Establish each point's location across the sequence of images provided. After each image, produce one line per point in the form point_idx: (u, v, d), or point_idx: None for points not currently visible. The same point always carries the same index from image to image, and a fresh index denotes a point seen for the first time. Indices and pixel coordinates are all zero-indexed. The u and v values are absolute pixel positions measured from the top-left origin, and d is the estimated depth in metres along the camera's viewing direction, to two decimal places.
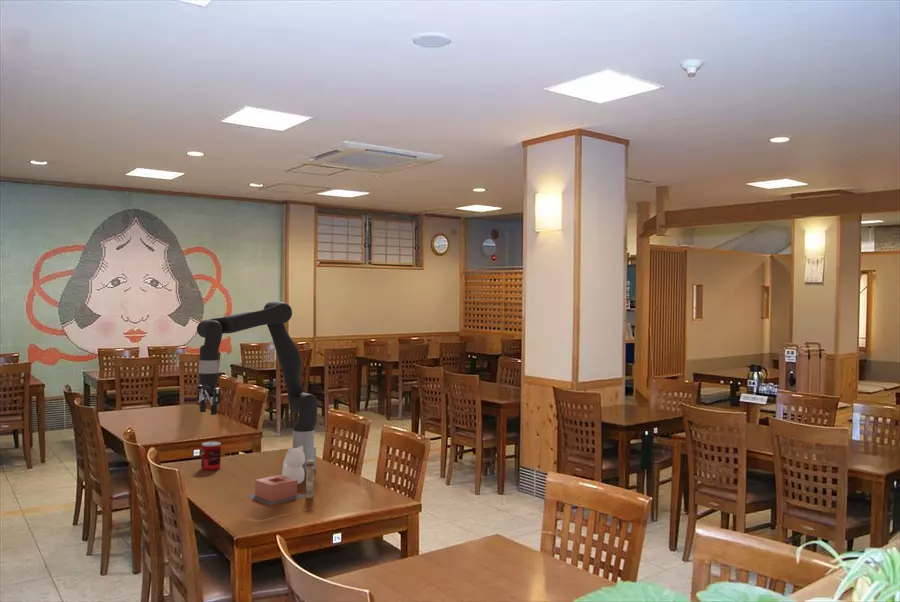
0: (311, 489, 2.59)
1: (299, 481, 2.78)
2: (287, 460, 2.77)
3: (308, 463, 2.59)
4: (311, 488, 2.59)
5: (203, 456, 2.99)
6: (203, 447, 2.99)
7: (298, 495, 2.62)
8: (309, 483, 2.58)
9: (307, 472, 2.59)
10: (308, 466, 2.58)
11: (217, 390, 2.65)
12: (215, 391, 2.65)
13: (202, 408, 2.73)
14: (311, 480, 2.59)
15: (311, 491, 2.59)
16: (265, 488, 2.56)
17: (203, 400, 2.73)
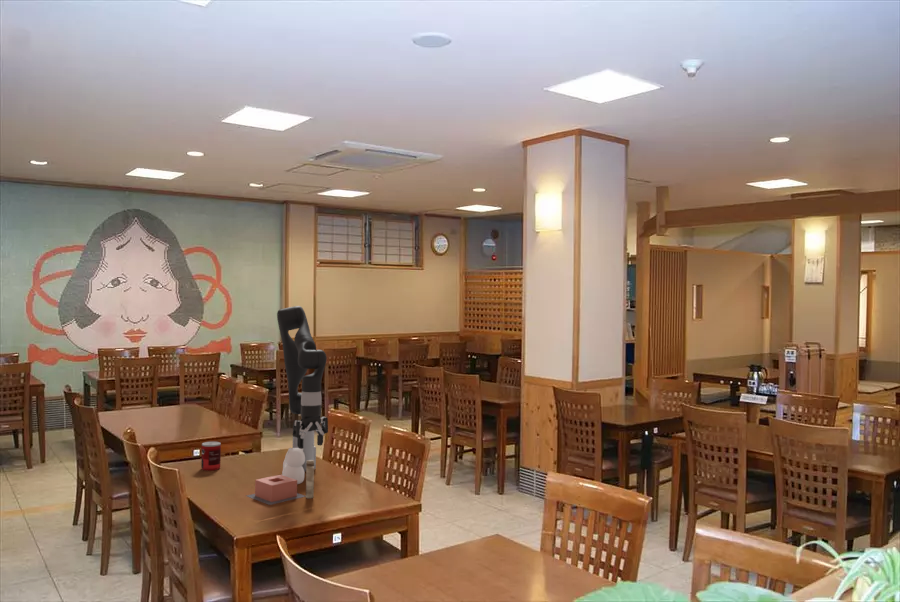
0: (311, 489, 2.59)
1: (299, 481, 2.78)
2: (287, 460, 2.77)
3: (308, 463, 2.59)
4: (311, 488, 2.59)
5: (203, 456, 2.99)
6: (203, 447, 2.99)
7: (298, 495, 2.62)
8: (309, 483, 2.58)
9: (307, 472, 2.59)
10: (308, 466, 2.58)
11: None
12: None
13: None
14: (311, 480, 2.59)
15: (311, 491, 2.59)
16: (265, 488, 2.56)
17: None
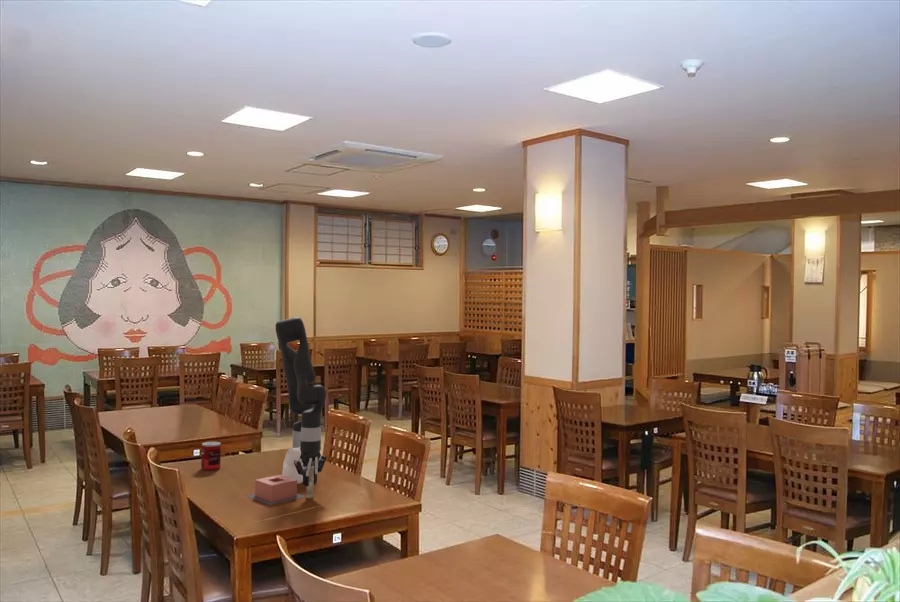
0: (311, 489, 2.59)
1: (299, 481, 2.78)
2: (287, 460, 2.77)
3: None
4: (311, 488, 2.59)
5: (203, 456, 2.99)
6: (203, 447, 2.99)
7: (298, 495, 2.62)
8: (310, 483, 2.58)
9: None
10: None
11: None
12: None
13: None
14: (311, 480, 2.59)
15: (311, 491, 2.59)
16: (265, 488, 2.56)
17: None
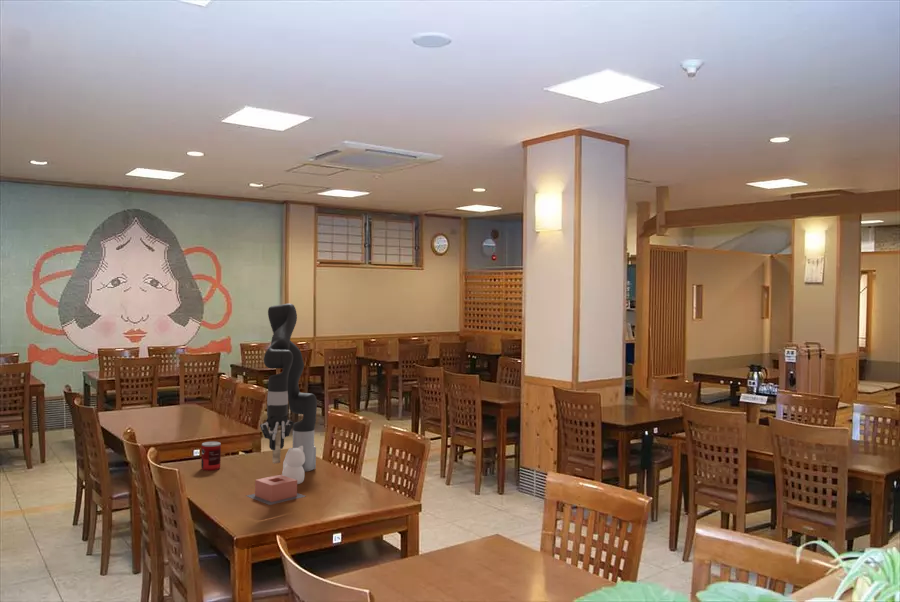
0: (278, 453, 2.60)
1: (299, 481, 2.78)
2: (287, 460, 2.77)
3: None
4: (278, 452, 2.60)
5: (203, 456, 2.99)
6: (203, 447, 2.99)
7: (298, 495, 2.62)
8: (276, 447, 2.59)
9: None
10: None
11: None
12: None
13: None
14: (278, 444, 2.60)
15: (278, 455, 2.60)
16: (265, 488, 2.56)
17: None
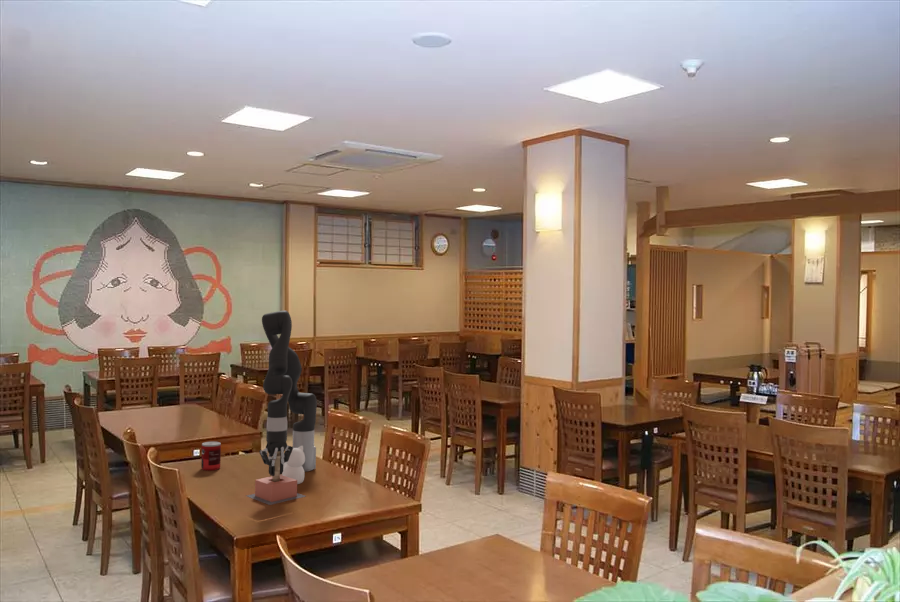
0: (277, 479, 2.60)
1: (299, 481, 2.78)
2: None
3: None
4: (277, 478, 2.60)
5: (203, 456, 2.99)
6: (203, 447, 2.99)
7: (298, 495, 2.62)
8: (275, 473, 2.59)
9: None
10: None
11: None
12: None
13: None
14: (277, 470, 2.60)
15: (277, 481, 2.60)
16: (265, 488, 2.56)
17: None
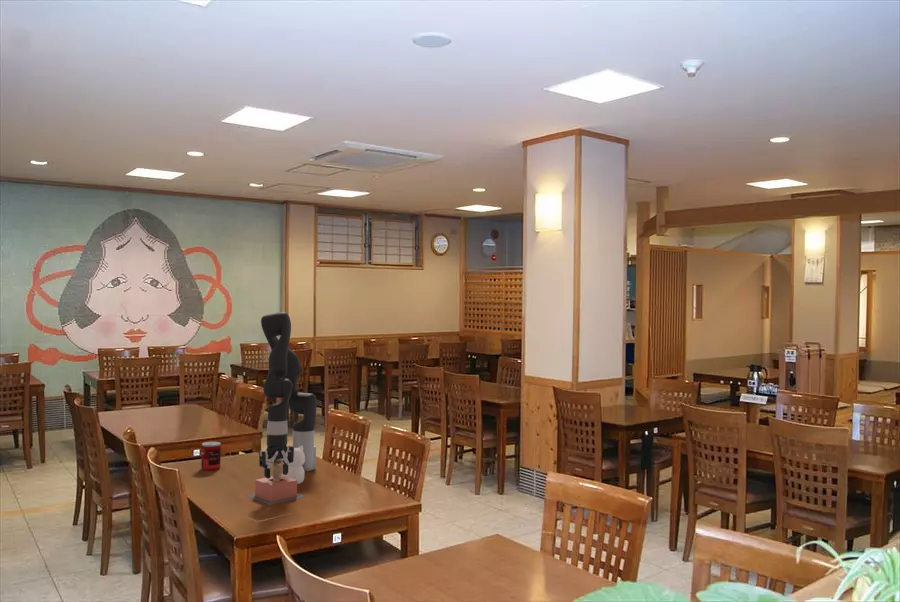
0: None
1: (299, 481, 2.78)
2: None
3: (275, 460, 2.60)
4: None
5: (203, 456, 2.99)
6: (203, 447, 2.99)
7: (298, 495, 2.62)
8: (276, 480, 2.60)
9: (274, 469, 2.60)
10: (275, 463, 2.60)
11: None
12: None
13: None
14: (278, 477, 2.60)
15: None
16: (265, 488, 2.56)
17: None
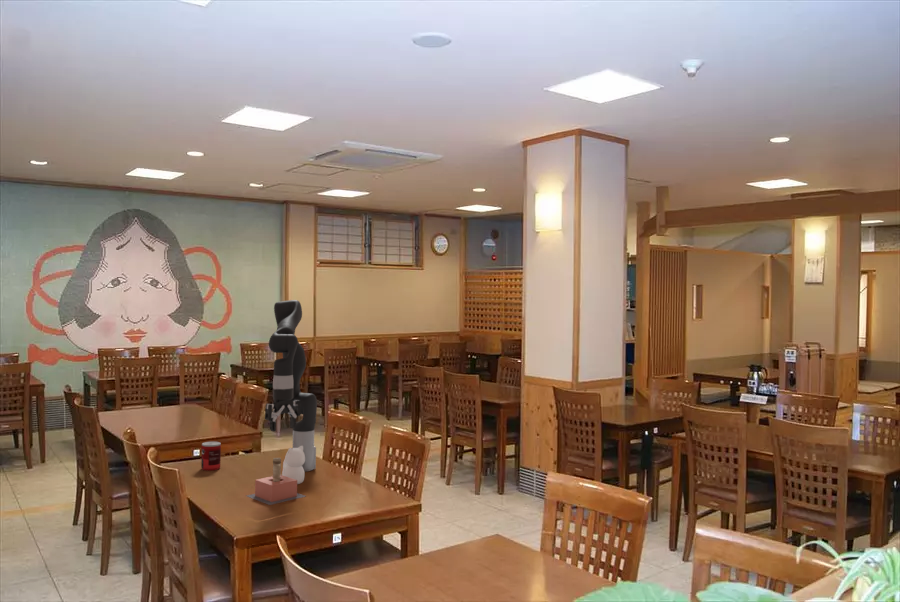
0: None
1: (299, 481, 2.78)
2: (287, 460, 2.77)
3: (275, 461, 2.59)
4: None
5: (203, 456, 2.99)
6: (203, 447, 2.99)
7: (298, 495, 2.62)
8: (276, 480, 2.59)
9: (274, 470, 2.60)
10: (274, 463, 2.59)
11: None
12: None
13: None
14: (278, 478, 2.60)
15: None
16: (265, 488, 2.56)
17: None
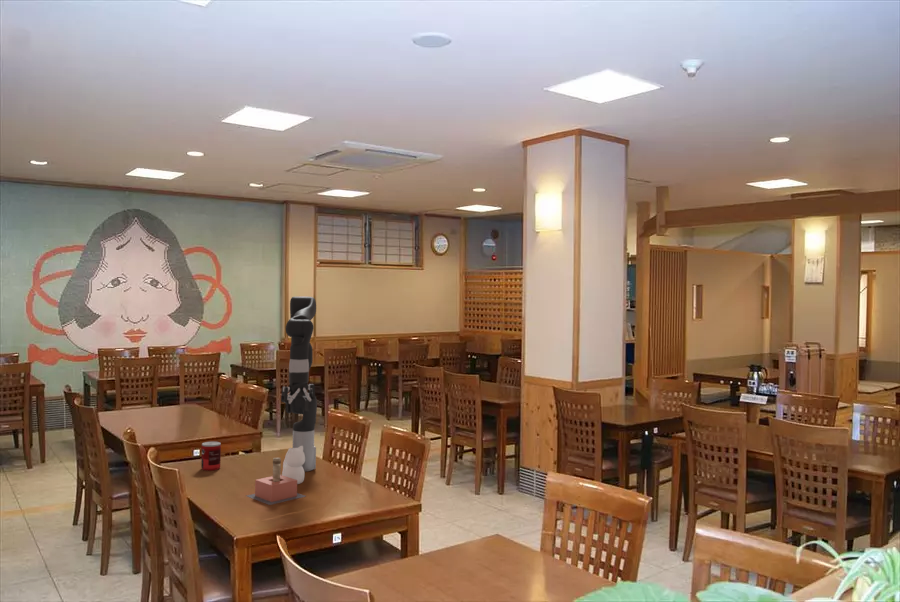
0: None
1: (299, 481, 2.78)
2: (287, 460, 2.77)
3: (274, 461, 2.60)
4: None
5: (203, 456, 2.99)
6: (203, 447, 2.99)
7: (298, 495, 2.62)
8: (276, 480, 2.59)
9: (273, 470, 2.60)
10: (274, 463, 2.59)
11: None
12: None
13: None
14: (277, 478, 2.60)
15: None
16: (265, 488, 2.56)
17: None
